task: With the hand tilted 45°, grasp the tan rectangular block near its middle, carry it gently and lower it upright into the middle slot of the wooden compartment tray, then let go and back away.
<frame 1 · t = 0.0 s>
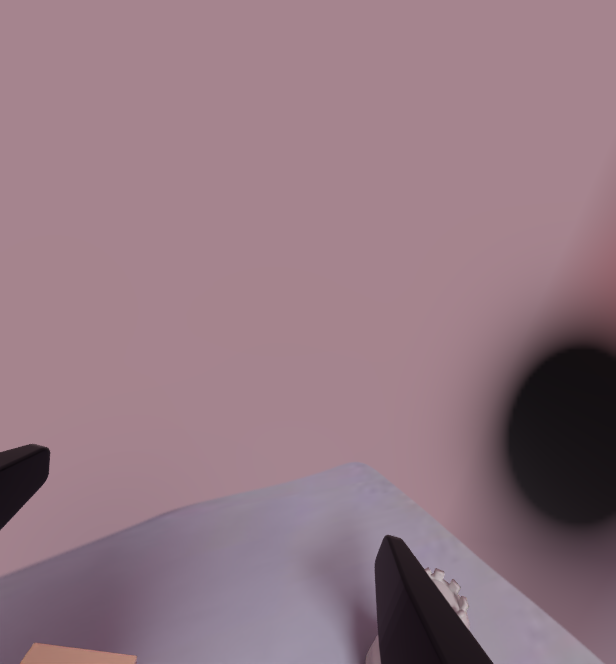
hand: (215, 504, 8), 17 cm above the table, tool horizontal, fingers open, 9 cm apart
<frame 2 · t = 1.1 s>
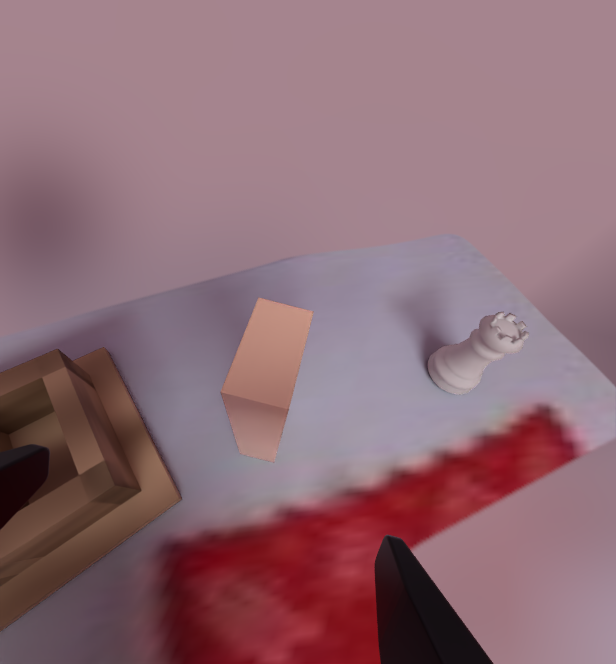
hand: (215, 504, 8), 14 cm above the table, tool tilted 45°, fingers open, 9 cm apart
tan rectangular block: (266, 427, 22), on the table
rook chess piece: (447, 374, 27), on the table
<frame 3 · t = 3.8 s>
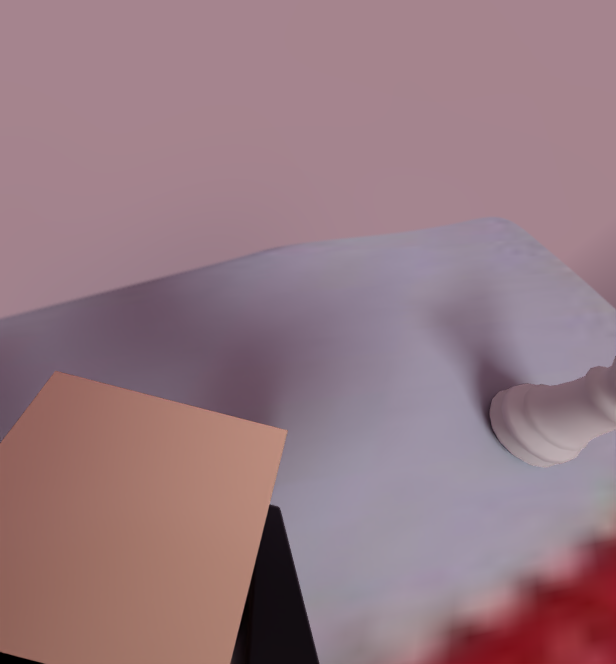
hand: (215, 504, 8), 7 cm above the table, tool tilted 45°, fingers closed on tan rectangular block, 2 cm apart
tan rectangular block: (223, 544, 12), on the table, touching gripper
rook chess piece: (518, 428, 17), on the table
when the fingers open (8 cm above the table, at t = 7.8 s): tan rectangular block drops 1 cm, resting on wooden compartment tray.
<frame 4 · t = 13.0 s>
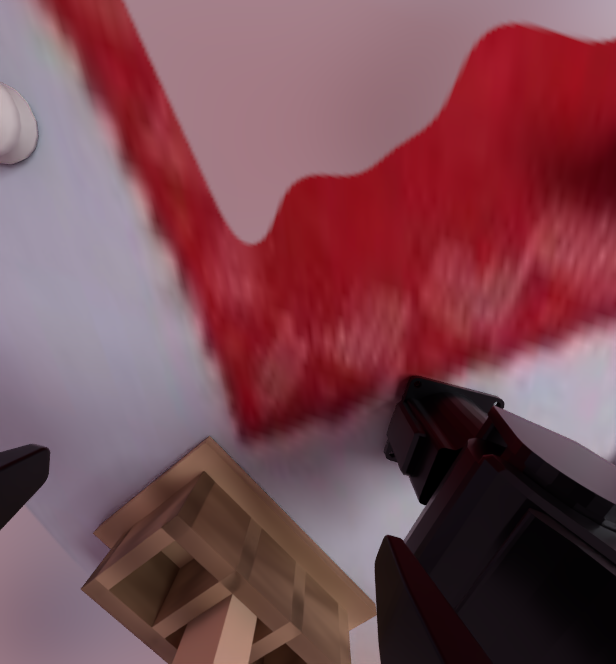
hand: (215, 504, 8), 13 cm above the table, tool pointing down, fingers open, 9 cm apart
tan rectangular block: (235, 574, 23), point 1 cm above the table, touching wooden compartment tray
wooden compartment tray: (238, 564, 24), on the table
rook chess piece: (12, 129, 18), on the table
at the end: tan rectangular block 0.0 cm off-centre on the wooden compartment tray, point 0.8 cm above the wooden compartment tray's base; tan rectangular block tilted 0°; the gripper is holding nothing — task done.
